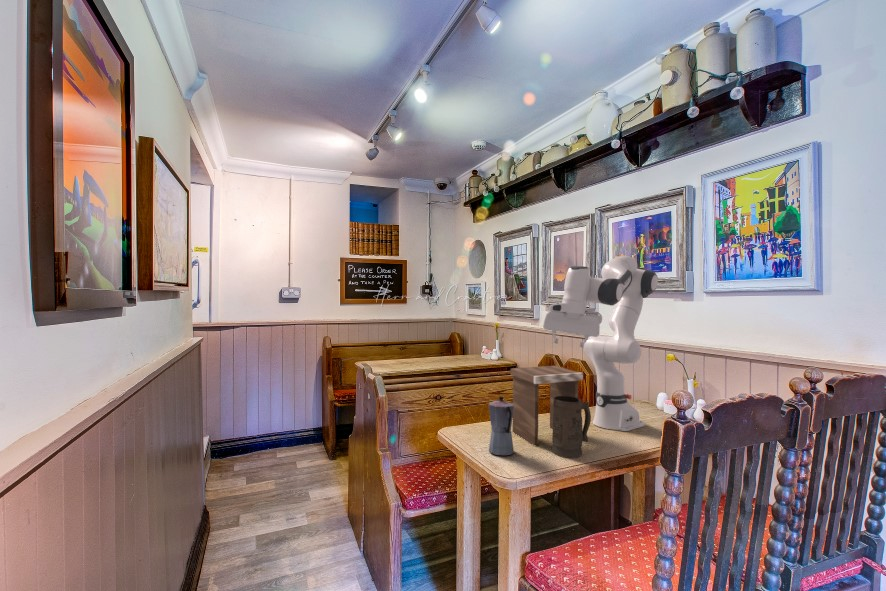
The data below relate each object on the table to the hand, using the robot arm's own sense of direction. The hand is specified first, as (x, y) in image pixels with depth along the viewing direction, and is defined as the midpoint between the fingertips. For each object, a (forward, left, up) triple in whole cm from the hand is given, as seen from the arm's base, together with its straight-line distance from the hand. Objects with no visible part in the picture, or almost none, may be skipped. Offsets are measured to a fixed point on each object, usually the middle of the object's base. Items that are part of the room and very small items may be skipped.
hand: (568, 345), depth 156 cm
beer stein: (+1, +4, -39) cm, 39 cm away
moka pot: (+26, -4, -39) cm, 47 cm away
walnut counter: (+1, -13, -39) cm, 41 cm away
